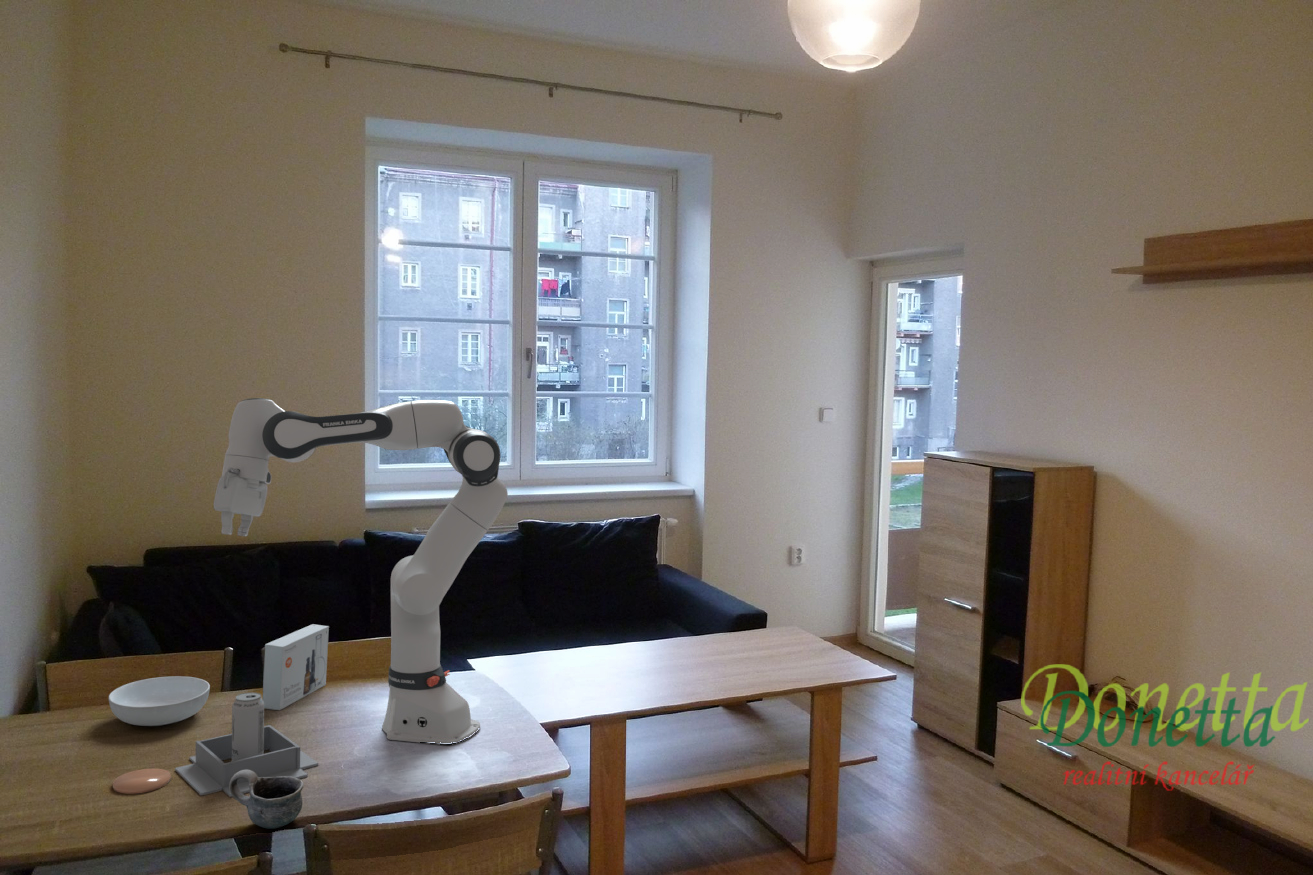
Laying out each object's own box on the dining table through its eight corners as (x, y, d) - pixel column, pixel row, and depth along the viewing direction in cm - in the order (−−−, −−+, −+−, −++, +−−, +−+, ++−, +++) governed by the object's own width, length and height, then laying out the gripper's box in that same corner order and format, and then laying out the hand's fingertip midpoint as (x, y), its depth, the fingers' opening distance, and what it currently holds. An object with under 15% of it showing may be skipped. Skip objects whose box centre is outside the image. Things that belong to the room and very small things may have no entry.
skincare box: (281, 711, 230) (282, 646, 229) (261, 709, 231) (261, 644, 230) (328, 684, 251) (329, 624, 250) (309, 682, 252) (310, 623, 251)
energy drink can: (232, 763, 199) (233, 692, 198) (263, 760, 201) (264, 690, 200) (230, 775, 193) (231, 702, 192) (263, 772, 195) (263, 699, 194)
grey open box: (281, 738, 213) (281, 716, 213) (326, 771, 197) (327, 747, 196) (168, 764, 198) (168, 740, 197) (208, 803, 181) (208, 777, 180)
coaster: (182, 777, 191) (182, 773, 191) (139, 797, 182) (139, 793, 182) (144, 769, 195) (144, 765, 195) (100, 788, 185) (100, 784, 185)
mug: (301, 833, 170) (302, 778, 170) (225, 841, 167) (225, 785, 166) (304, 809, 180) (305, 757, 179) (231, 816, 176) (232, 763, 175)
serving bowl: (86, 726, 216) (86, 696, 216) (164, 699, 236) (164, 671, 235) (155, 742, 209) (156, 711, 208) (230, 712, 228) (230, 683, 228)
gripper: (242, 467, 198) (232, 534, 196) (274, 477, 218) (264, 538, 216) (211, 464, 198) (200, 531, 196) (246, 474, 218) (236, 535, 216)
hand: (234, 535), depth 206 cm, fingers open, 8 cm apart
